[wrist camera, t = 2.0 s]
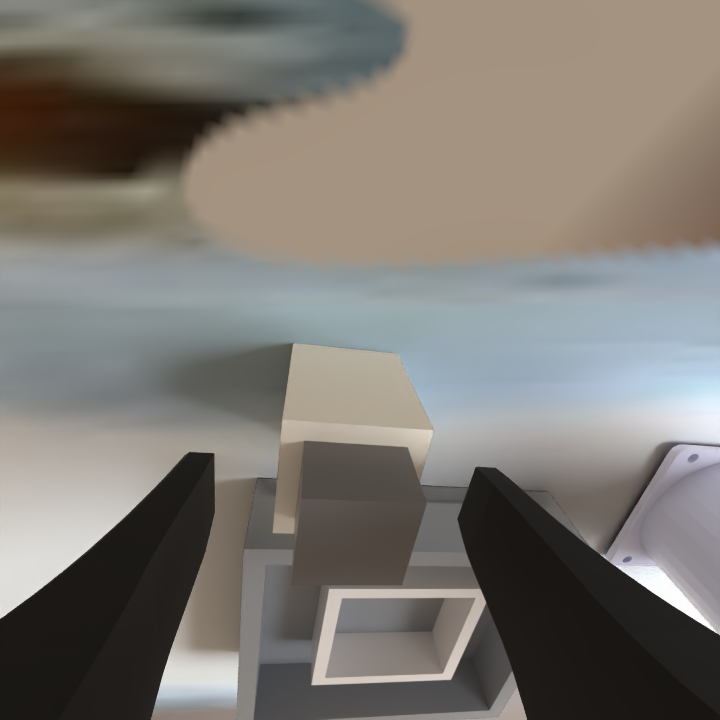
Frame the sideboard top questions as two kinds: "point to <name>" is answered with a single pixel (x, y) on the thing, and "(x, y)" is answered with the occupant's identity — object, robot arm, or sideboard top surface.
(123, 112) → the sideboard top surface
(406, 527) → the connector
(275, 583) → the walled box
